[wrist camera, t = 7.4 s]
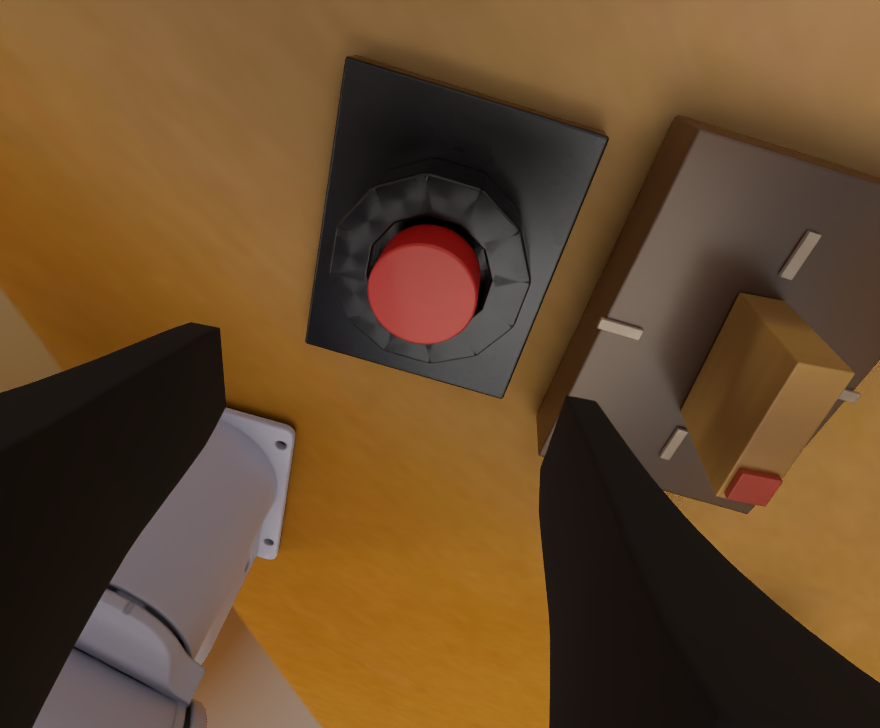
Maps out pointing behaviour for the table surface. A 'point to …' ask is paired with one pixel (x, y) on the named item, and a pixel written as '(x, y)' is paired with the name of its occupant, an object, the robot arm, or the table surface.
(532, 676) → the table surface
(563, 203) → the bell push
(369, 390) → the table surface
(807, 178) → the plate
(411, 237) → the bell button
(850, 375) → the tan rectangular block
